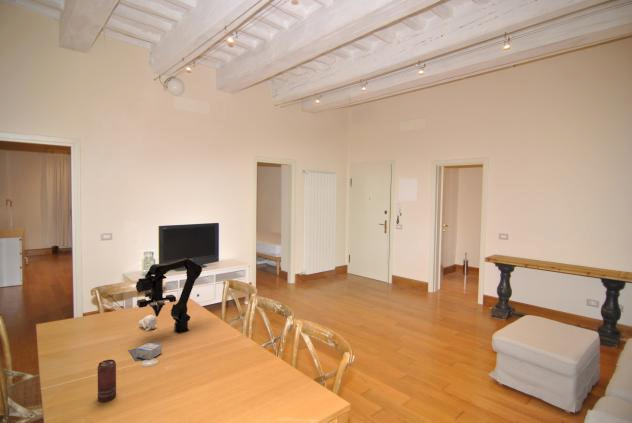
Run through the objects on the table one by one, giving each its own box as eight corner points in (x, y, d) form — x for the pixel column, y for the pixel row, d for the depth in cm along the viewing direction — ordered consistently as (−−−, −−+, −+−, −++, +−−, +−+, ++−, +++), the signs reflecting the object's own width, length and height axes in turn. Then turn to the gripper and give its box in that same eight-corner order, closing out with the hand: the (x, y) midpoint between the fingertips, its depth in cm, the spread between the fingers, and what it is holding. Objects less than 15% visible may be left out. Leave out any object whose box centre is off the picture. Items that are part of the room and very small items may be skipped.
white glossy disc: (155, 359, 169) (155, 356, 169) (159, 364, 163) (159, 362, 163) (139, 363, 164) (139, 361, 164) (143, 369, 159) (143, 366, 159)
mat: (149, 345, 182) (149, 344, 182) (157, 355, 172) (157, 354, 172) (128, 350, 176) (128, 350, 176) (135, 361, 165) (135, 360, 165)
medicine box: (162, 343, 174) (149, 350, 165) (162, 352, 174) (149, 359, 165) (148, 342, 176) (135, 348, 167) (148, 351, 176) (135, 358, 167)
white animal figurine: (148, 317, 199) (134, 315, 204) (149, 332, 199) (135, 329, 204) (157, 314, 204) (144, 312, 210) (158, 328, 204) (145, 326, 210)
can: (102, 393, 139) (102, 359, 138) (118, 393, 139) (118, 358, 138) (93, 402, 133) (93, 366, 132) (111, 402, 133) (111, 366, 132)
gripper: (169, 282, 200) (169, 309, 201) (134, 287, 188) (134, 315, 189) (176, 286, 192) (176, 314, 192) (139, 292, 180) (139, 321, 180)
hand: (156, 316), depth 189 cm, fingers closed
